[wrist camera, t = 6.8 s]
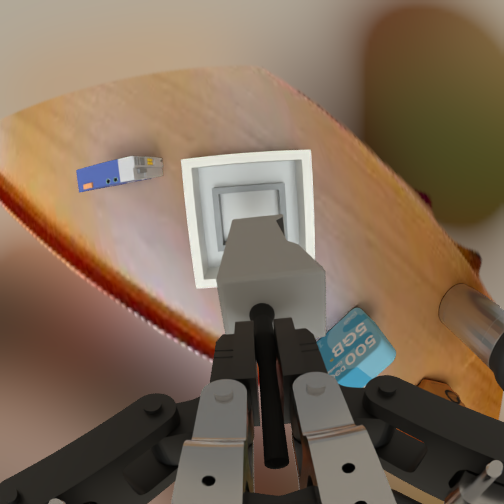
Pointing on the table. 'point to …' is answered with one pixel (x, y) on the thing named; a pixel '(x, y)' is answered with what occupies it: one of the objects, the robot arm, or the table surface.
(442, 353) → the table surface
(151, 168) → the walkman
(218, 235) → the box
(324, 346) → the data package
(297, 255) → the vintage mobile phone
